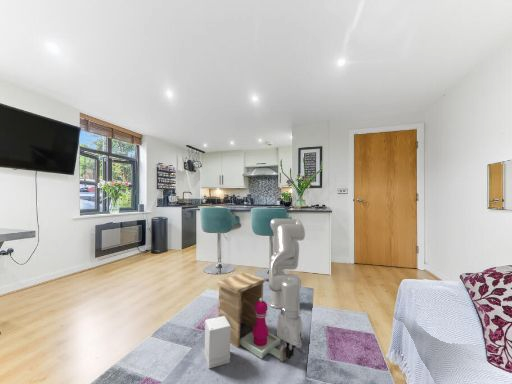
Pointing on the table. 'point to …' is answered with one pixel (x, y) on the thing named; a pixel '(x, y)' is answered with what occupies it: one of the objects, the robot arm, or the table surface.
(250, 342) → the tray
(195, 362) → the table surface
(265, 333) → the pepper mill
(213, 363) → the supplement box
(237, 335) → the open wooden crate
